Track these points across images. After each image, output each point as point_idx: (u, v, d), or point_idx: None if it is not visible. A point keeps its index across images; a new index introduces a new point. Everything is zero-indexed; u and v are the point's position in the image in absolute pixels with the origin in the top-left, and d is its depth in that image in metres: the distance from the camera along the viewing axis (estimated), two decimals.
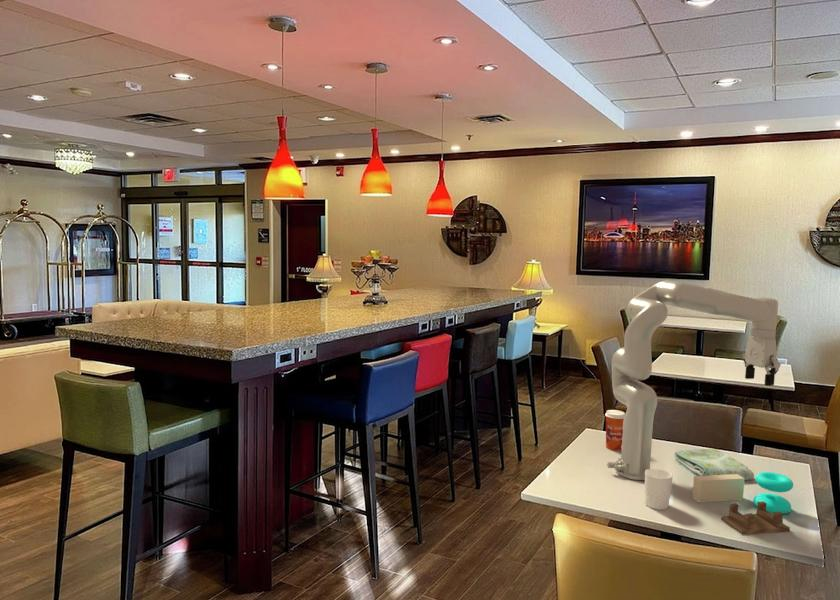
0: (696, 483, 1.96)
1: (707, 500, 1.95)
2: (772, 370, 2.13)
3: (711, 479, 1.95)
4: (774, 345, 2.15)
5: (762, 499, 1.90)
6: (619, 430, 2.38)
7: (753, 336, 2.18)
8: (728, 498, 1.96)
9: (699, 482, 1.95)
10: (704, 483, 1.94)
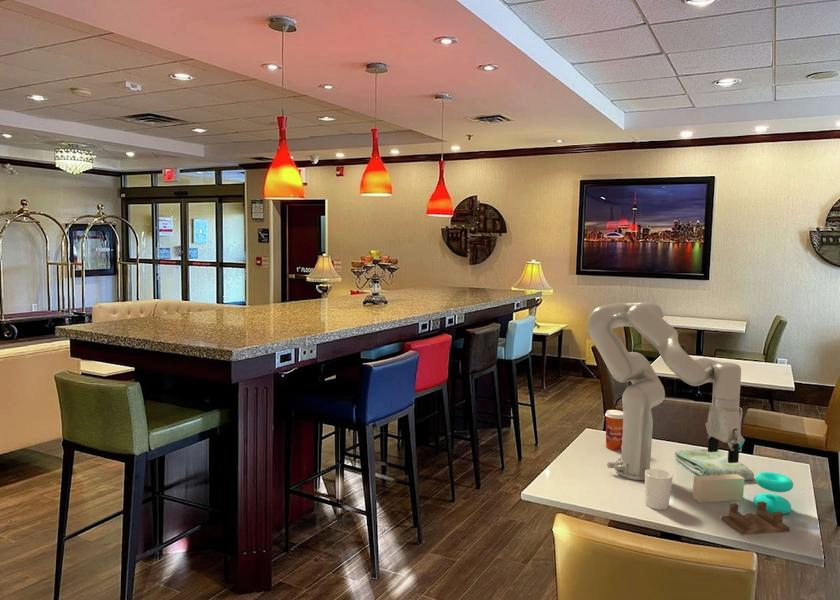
0: (696, 483, 1.96)
1: (707, 500, 1.95)
2: (735, 446, 1.88)
3: (711, 479, 1.95)
4: (737, 417, 1.90)
5: (762, 499, 1.90)
6: (619, 430, 2.38)
7: (714, 406, 1.94)
8: (728, 498, 1.96)
9: (699, 482, 1.95)
10: (703, 483, 1.94)
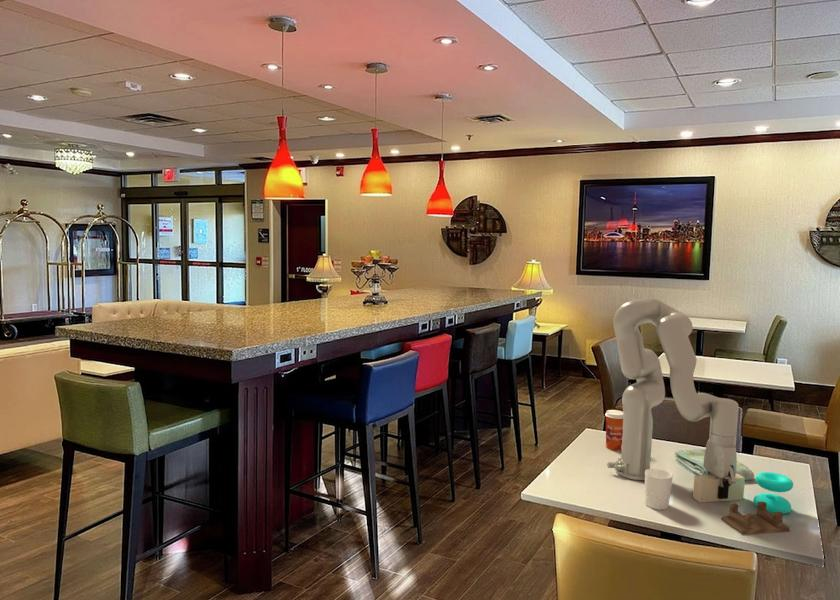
0: (696, 483, 1.96)
1: (707, 500, 1.95)
2: (725, 483, 1.93)
3: (711, 479, 1.95)
4: (734, 454, 1.92)
5: (762, 499, 1.90)
6: (619, 430, 2.38)
7: (711, 442, 1.95)
8: (728, 498, 1.96)
9: (699, 482, 1.95)
10: (704, 483, 1.94)
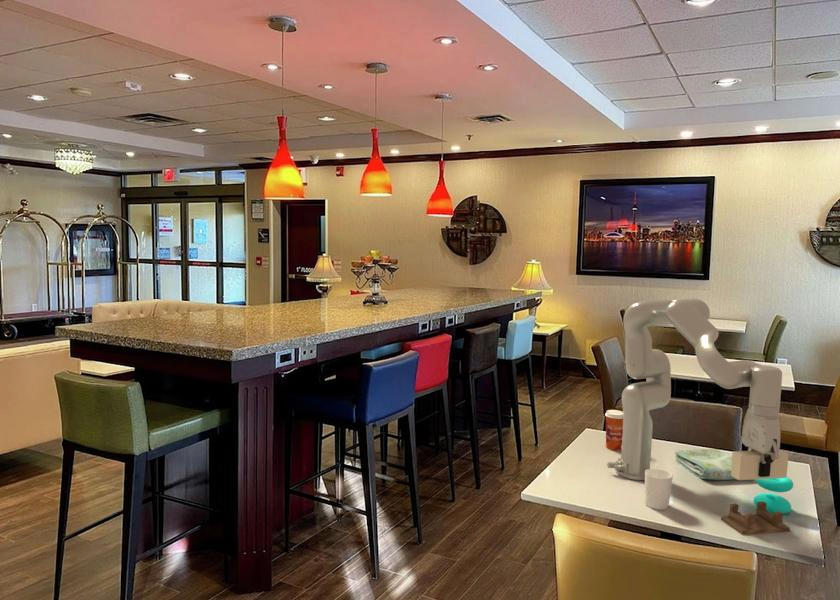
0: (735, 459, 1.77)
1: (748, 477, 1.76)
2: (768, 459, 1.74)
3: (752, 454, 1.76)
4: (778, 426, 1.72)
5: (762, 499, 1.90)
6: (619, 430, 2.38)
7: (751, 413, 1.76)
8: (770, 475, 1.77)
9: (739, 457, 1.75)
10: (744, 459, 1.75)
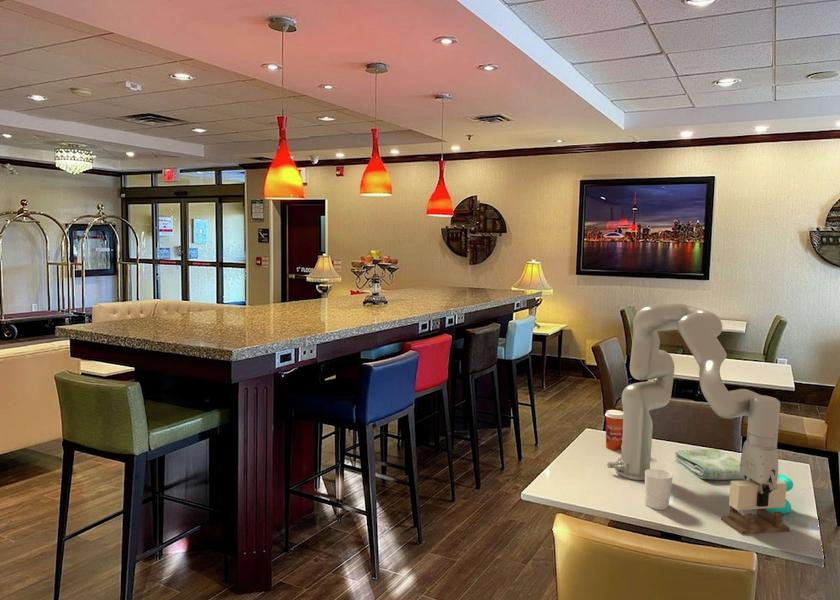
0: (733, 489, 1.78)
1: (746, 507, 1.77)
2: (766, 489, 1.74)
3: (750, 484, 1.77)
4: (775, 457, 1.73)
5: None
6: (619, 430, 2.38)
7: (749, 444, 1.77)
8: (769, 505, 1.78)
9: (737, 487, 1.76)
10: (742, 489, 1.76)
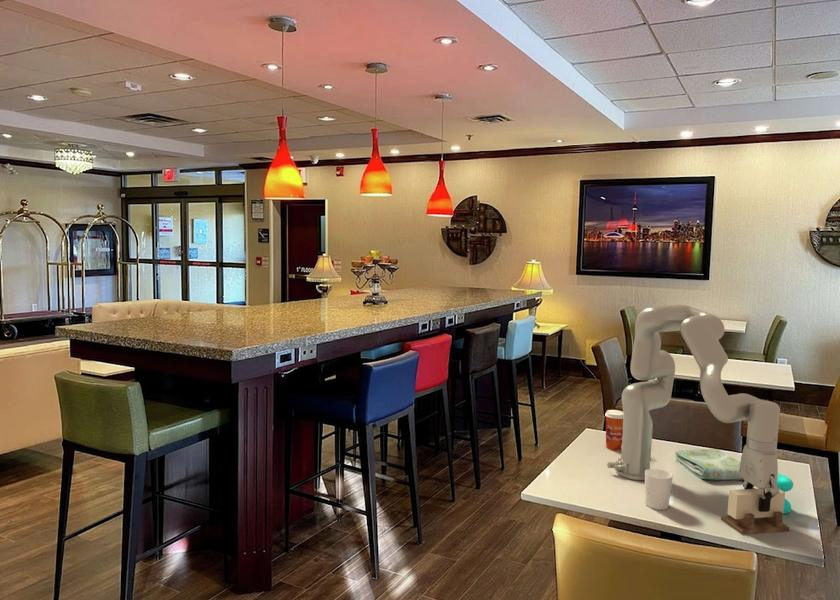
0: (732, 498, 1.78)
1: (744, 516, 1.77)
2: (767, 494, 1.74)
3: (748, 493, 1.77)
4: (775, 462, 1.73)
5: None
6: (619, 430, 2.38)
7: (749, 448, 1.77)
8: (767, 514, 1.78)
9: (735, 497, 1.77)
10: (740, 498, 1.76)
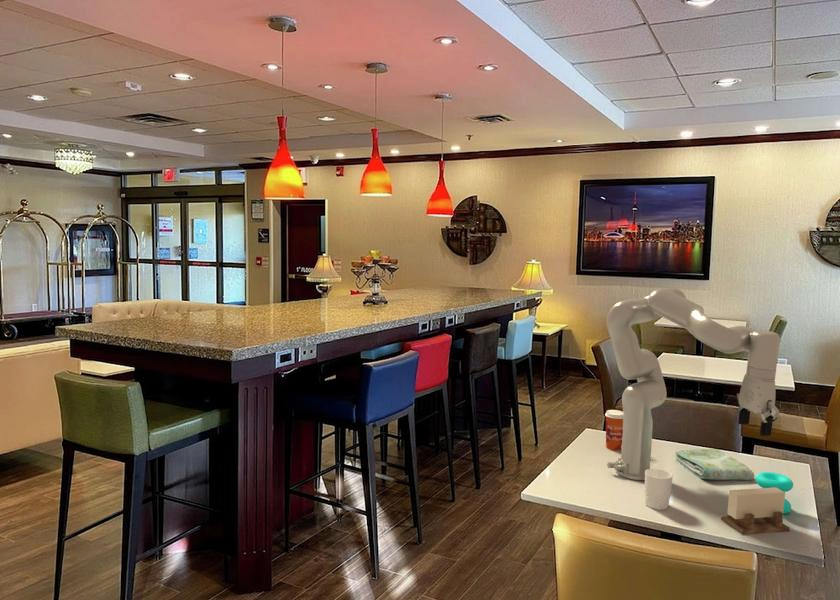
0: (732, 498, 1.78)
1: (744, 516, 1.77)
2: (769, 418, 1.79)
3: (748, 493, 1.77)
4: (773, 388, 1.80)
5: None
6: (619, 430, 2.38)
7: (748, 376, 1.84)
8: (767, 514, 1.78)
9: (735, 497, 1.77)
10: (740, 498, 1.76)
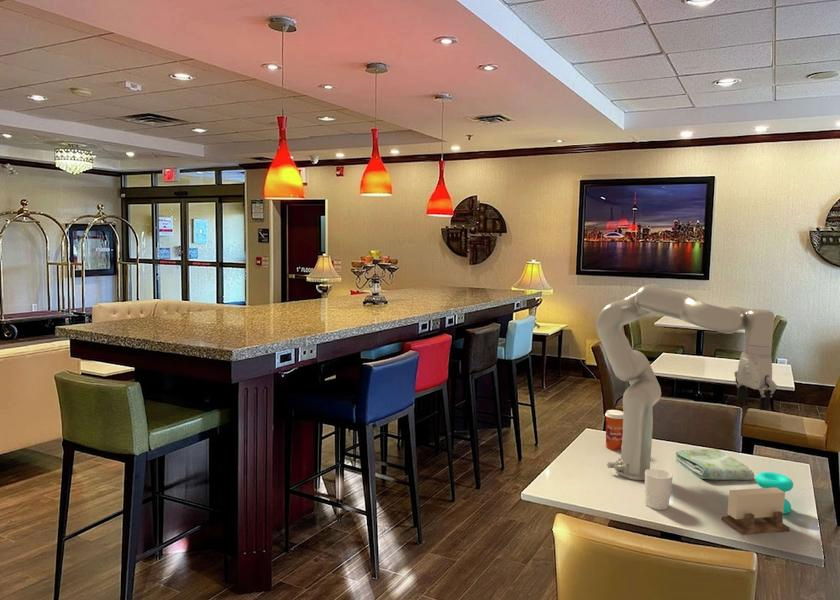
0: (732, 498, 1.78)
1: (744, 516, 1.77)
2: (767, 392, 1.86)
3: (748, 493, 1.77)
4: (770, 364, 1.88)
5: None
6: (619, 430, 2.38)
7: (746, 353, 1.91)
8: (767, 514, 1.78)
9: (735, 497, 1.77)
10: (740, 498, 1.76)
